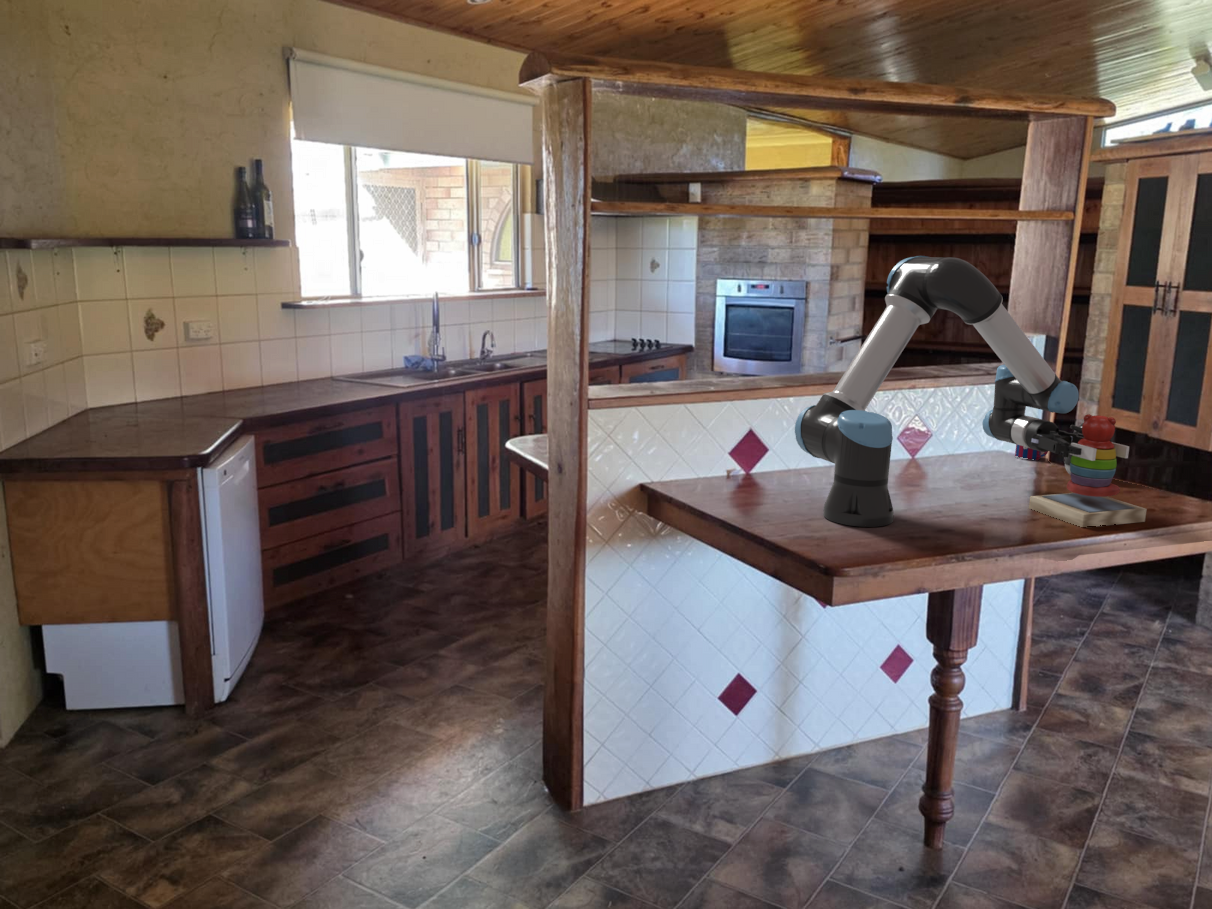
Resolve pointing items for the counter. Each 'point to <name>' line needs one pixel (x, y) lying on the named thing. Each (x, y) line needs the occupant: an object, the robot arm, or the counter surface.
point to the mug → (1028, 453)
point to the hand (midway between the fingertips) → (1111, 453)
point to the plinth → (1087, 509)
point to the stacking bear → (1098, 473)
